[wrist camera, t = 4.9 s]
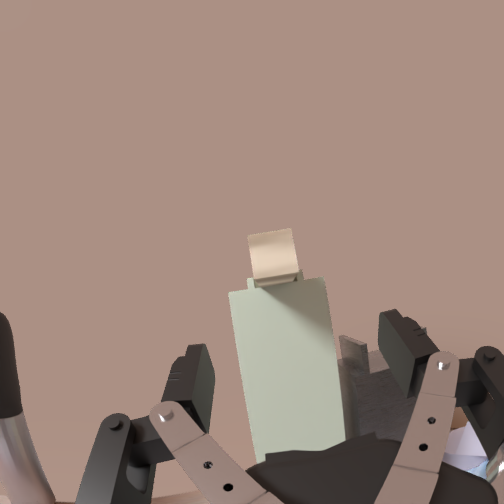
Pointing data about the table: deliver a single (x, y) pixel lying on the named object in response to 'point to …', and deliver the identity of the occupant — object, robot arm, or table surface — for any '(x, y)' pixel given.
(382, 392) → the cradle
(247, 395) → the pale green tall block
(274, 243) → the rail
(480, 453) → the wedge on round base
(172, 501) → the table surface
